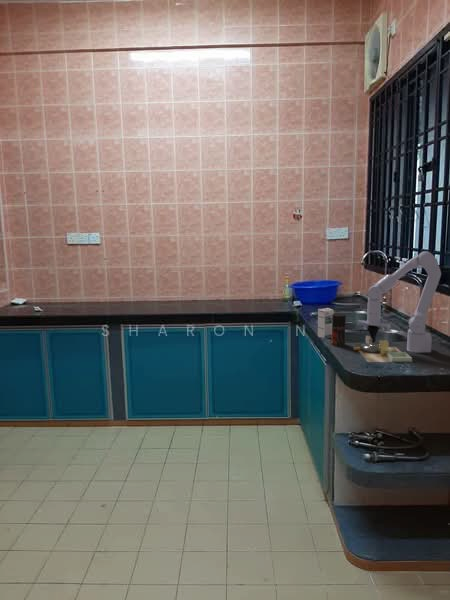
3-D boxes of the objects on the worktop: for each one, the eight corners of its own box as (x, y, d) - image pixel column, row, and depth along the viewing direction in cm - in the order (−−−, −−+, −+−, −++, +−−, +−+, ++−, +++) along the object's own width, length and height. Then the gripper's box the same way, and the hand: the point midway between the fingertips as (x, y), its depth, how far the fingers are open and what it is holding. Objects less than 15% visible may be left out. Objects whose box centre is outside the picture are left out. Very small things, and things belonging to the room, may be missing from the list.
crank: (377, 345, 201) (378, 335, 200) (386, 352, 189) (387, 342, 189) (349, 345, 201) (349, 335, 201) (356, 352, 190) (357, 342, 189)
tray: (405, 356, 185) (405, 352, 184) (411, 362, 177) (411, 357, 177) (386, 356, 185) (386, 352, 185) (392, 361, 178) (392, 357, 177)
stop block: (385, 353, 189) (386, 340, 188) (388, 355, 186) (388, 342, 185) (378, 353, 189) (379, 340, 188) (380, 355, 186) (381, 342, 185)
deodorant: (346, 347, 202) (347, 316, 199) (334, 348, 201) (334, 316, 199) (342, 344, 207) (343, 313, 205) (329, 344, 207) (330, 313, 204)
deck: (395, 348, 199) (395, 346, 198) (412, 363, 177) (413, 361, 177) (355, 348, 200) (355, 346, 200) (367, 363, 178) (367, 361, 178)
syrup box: (324, 339, 217) (324, 310, 215) (317, 336, 223) (317, 308, 220) (333, 337, 219) (334, 309, 217) (326, 335, 225) (327, 307, 222)
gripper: (393, 313, 195) (392, 342, 197) (362, 309, 204) (361, 337, 207) (387, 315, 190) (386, 346, 192) (355, 312, 199) (355, 341, 201)
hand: (373, 342), depth 199 cm, fingers closed, pressing on crank
